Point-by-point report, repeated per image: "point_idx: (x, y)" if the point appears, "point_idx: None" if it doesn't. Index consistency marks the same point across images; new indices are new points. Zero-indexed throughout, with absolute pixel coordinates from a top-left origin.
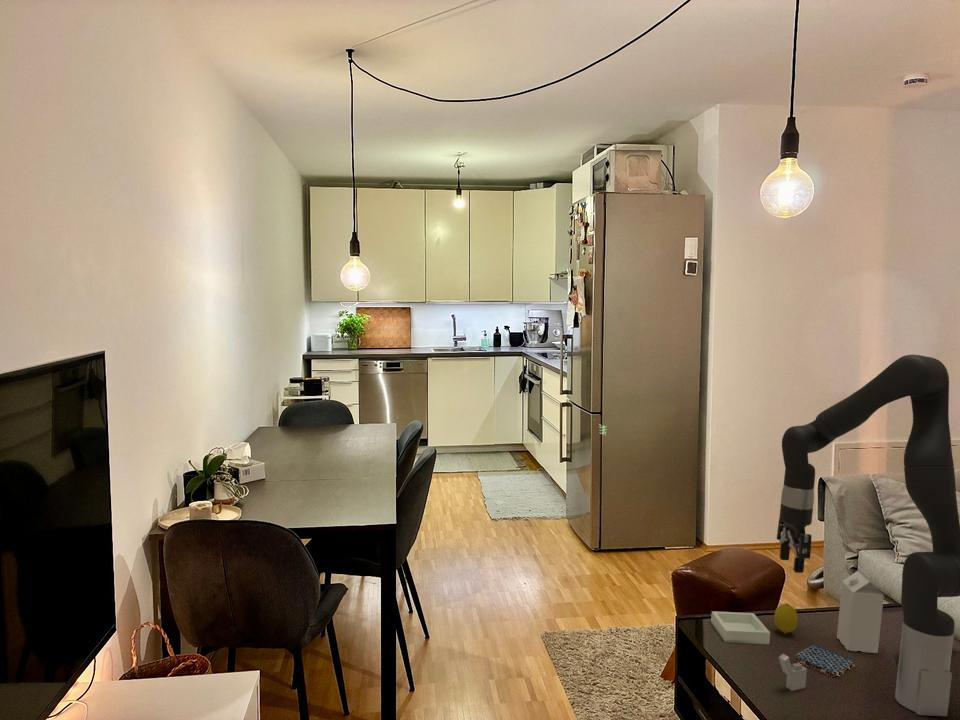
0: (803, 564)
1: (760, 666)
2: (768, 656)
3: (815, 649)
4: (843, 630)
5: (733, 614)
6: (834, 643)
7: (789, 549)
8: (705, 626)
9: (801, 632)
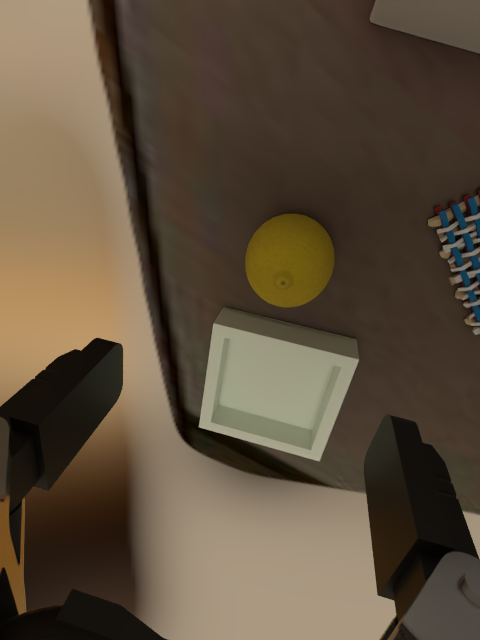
0: (460, 512)
1: (465, 435)
2: (422, 384)
3: (471, 239)
4: (453, 25)
5: (217, 383)
6: (410, 75)
7: (64, 405)
8: None
9: (294, 167)
